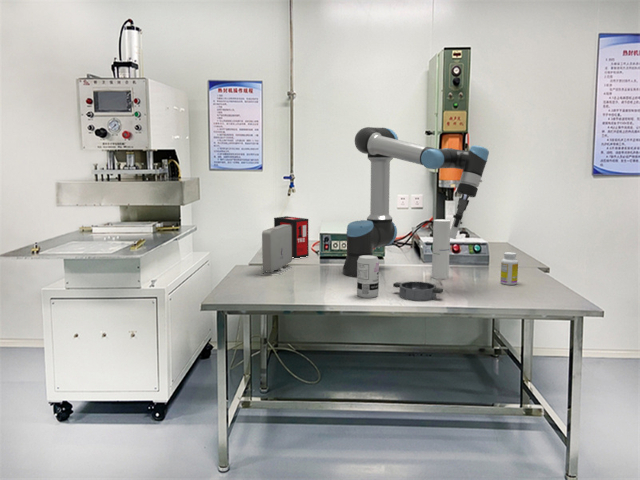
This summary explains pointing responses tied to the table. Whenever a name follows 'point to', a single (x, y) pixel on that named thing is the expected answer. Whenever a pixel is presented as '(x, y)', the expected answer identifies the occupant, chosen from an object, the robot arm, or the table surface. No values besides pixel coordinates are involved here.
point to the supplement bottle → (509, 269)
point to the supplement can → (367, 276)
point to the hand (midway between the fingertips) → (452, 237)
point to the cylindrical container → (441, 249)
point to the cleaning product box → (296, 234)
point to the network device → (277, 248)
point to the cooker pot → (417, 290)
